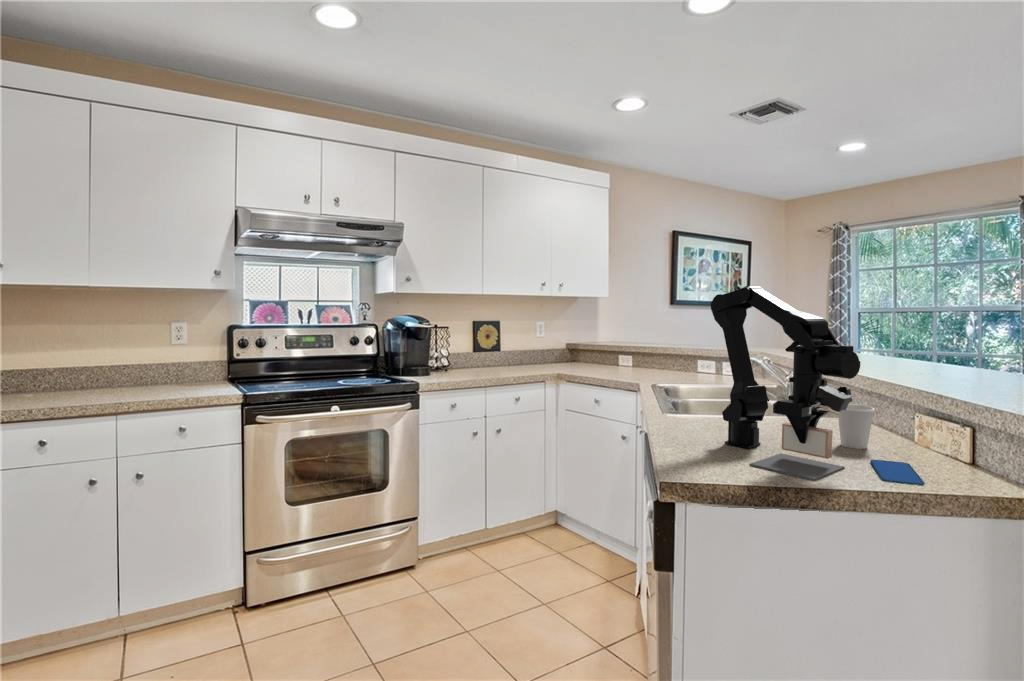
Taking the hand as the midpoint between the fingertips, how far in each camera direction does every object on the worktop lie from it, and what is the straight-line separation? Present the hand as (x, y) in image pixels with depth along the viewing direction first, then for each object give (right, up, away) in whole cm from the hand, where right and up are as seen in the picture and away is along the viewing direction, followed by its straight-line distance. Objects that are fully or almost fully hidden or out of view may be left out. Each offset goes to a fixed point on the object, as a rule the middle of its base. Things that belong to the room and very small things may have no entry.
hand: (805, 442), depth 124 cm
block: (0, -2, 0) cm, 2 cm away
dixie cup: (+21, -4, +16) cm, 26 cm away
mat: (-3, -5, -2) cm, 6 cm away
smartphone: (+15, -6, -7) cm, 18 cm away
